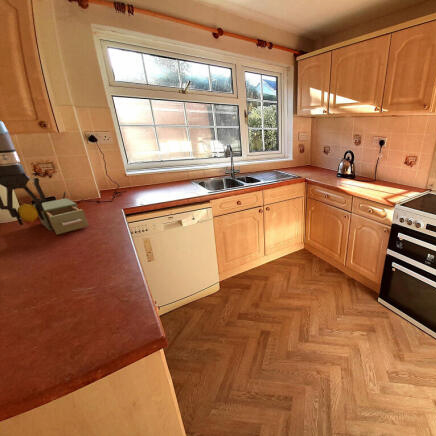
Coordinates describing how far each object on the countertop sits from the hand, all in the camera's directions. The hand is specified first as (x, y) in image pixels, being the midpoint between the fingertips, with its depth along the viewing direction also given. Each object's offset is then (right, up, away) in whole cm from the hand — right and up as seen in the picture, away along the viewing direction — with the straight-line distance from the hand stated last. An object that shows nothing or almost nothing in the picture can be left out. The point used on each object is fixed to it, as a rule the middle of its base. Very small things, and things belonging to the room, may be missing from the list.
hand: (32, 221), depth 99 cm
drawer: (-6, -3, +23) cm, 24 cm away
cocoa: (-33, +5, +47) cm, 58 cm away
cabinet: (-18, -1, +32) cm, 37 cm away
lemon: (0, 0, 0) cm, 1 cm away
